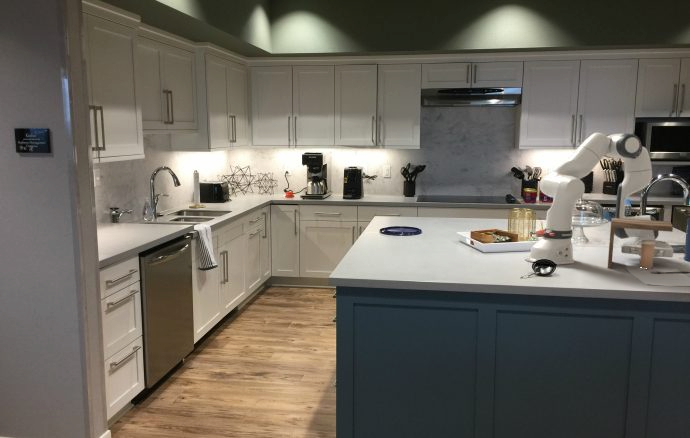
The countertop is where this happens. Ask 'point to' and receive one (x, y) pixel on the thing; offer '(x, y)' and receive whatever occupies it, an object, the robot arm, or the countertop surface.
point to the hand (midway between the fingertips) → (647, 253)
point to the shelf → (635, 225)
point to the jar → (647, 254)
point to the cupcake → (538, 231)
